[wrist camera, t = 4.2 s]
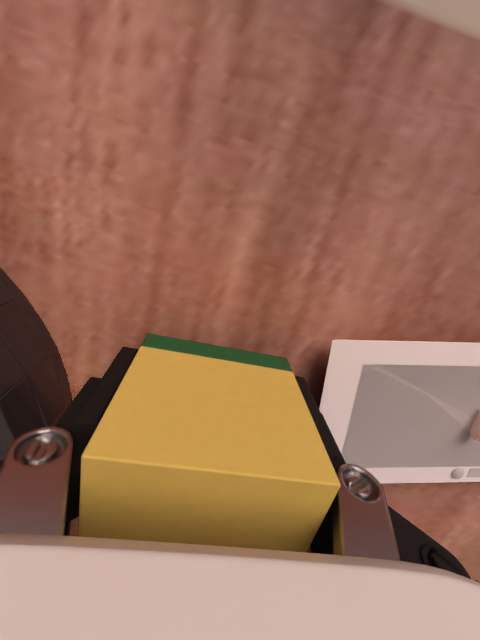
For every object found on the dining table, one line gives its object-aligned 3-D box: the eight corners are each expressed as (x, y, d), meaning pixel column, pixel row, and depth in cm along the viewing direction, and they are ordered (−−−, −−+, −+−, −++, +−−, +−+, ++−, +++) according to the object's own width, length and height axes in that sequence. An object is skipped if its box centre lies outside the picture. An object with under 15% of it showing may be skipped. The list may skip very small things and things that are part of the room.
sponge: (147, 332, 11) (80, 455, 6) (287, 357, 11) (342, 485, 6) (136, 416, 12) (75, 576, 7) (261, 433, 13) (288, 587, 8)
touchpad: (323, 328, 12) (343, 353, 10) (640, 336, 13) (714, 359, 11) (299, 465, 15) (311, 505, 13) (561, 462, 16) (609, 499, 14)
